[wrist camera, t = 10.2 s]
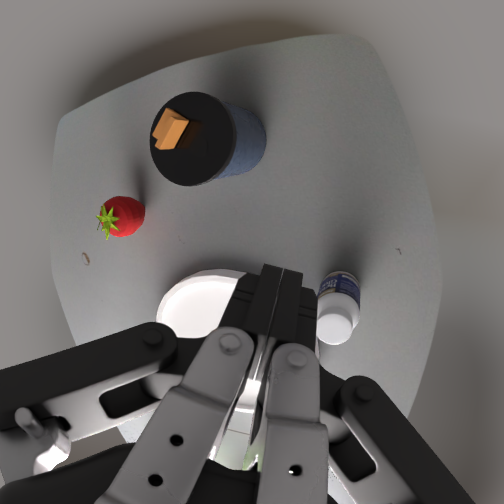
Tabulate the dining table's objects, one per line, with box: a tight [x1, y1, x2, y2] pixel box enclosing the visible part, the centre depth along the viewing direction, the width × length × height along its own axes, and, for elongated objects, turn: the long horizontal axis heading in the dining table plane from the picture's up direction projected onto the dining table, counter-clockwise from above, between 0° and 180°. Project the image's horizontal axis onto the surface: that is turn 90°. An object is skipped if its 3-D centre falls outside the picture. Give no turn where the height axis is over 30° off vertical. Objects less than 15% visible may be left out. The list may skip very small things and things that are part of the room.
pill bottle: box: [316, 271, 360, 345], centre depth 32 cm, size 5×5×10 cm
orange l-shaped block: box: [152, 108, 189, 149], centre depth 24 cm, size 3×3×2 cm
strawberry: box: [96, 196, 145, 240], centre depth 39 cm, size 6×8×10 cm
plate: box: [156, 269, 320, 413], centre depth 45 cm, size 28×28×2 cm
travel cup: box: [150, 92, 266, 186], centre depth 30 cm, size 9×9×11 cm
